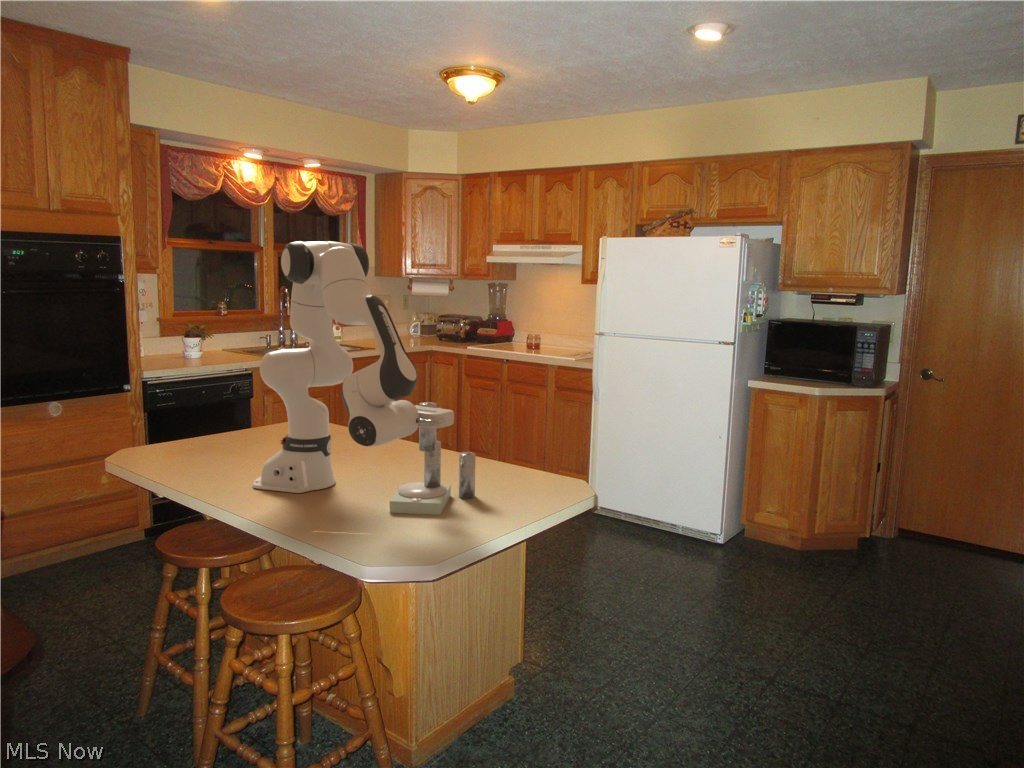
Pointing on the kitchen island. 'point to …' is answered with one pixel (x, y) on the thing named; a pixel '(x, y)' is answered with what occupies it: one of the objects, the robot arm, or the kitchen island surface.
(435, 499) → the scale
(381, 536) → the kitchen island surface
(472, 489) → the cylinder
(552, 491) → the kitchen island surface
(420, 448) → the cylinder
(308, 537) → the kitchen island surface
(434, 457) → the cylinder
